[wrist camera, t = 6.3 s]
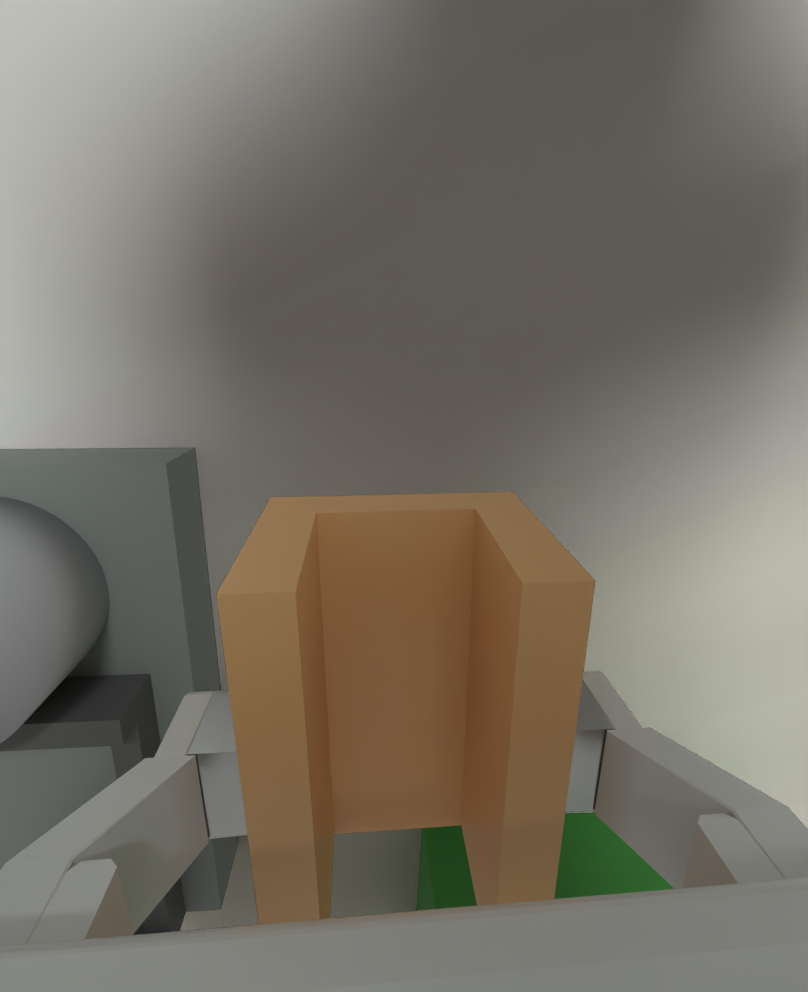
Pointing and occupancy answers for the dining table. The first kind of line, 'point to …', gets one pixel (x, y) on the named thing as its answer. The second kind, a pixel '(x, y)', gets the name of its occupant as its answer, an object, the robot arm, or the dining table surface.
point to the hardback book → (581, 872)
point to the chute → (403, 686)
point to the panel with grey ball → (100, 637)
